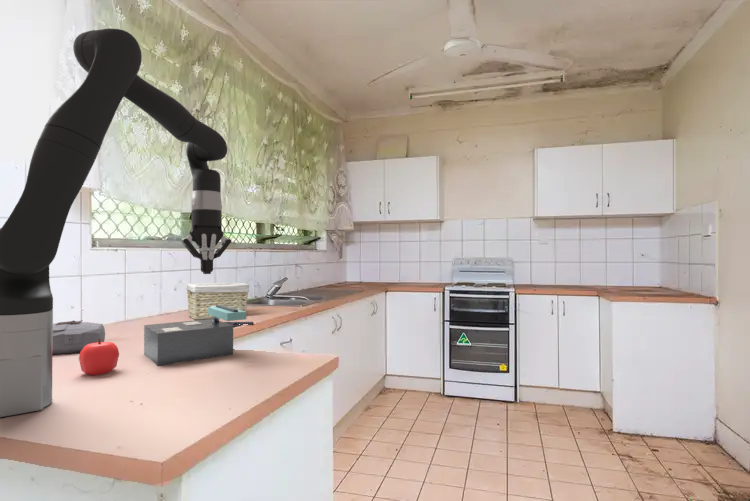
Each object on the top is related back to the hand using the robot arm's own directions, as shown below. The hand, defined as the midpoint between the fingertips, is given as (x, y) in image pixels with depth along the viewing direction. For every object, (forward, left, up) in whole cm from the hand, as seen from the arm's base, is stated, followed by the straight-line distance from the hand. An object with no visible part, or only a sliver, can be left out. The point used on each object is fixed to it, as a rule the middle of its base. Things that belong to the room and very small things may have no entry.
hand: (206, 273), depth 115 cm
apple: (+1, +24, -23) cm, 33 cm away
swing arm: (+1, -5, -12) cm, 13 cm away
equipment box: (+7, +3, -22) cm, 24 cm away
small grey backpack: (+35, +29, -23) cm, 51 cm away
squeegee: (+43, -22, -23) cm, 53 cm away
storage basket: (+74, -28, -23) cm, 82 cm away
